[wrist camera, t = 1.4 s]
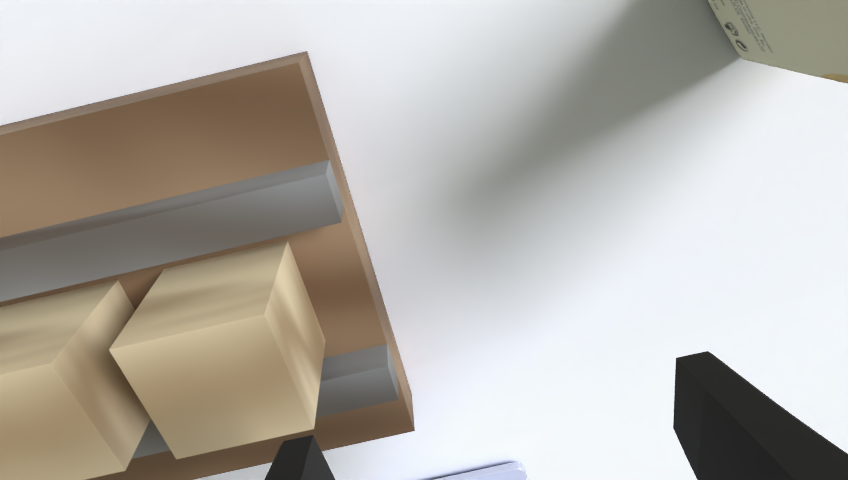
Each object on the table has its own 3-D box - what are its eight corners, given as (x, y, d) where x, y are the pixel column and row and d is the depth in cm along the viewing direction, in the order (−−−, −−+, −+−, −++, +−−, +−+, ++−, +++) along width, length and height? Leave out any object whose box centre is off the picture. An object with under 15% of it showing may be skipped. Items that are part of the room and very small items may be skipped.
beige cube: (172, 375, 19) (125, 471, 16) (61, 400, 19) (-10, 500, 16) (118, 279, 17) (51, 362, 14) (-4, 308, 17) (-101, 397, 14)
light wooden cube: (325, 340, 19) (314, 429, 15) (213, 366, 19) (176, 459, 16) (287, 240, 17) (264, 314, 14) (163, 269, 17) (108, 349, 14)
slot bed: (411, 394, 23) (416, 455, 20) (90, 465, 23) (50, 535, 21) (307, 51, 17) (292, 70, 14) (-134, 158, 17) (-236, 198, 14)
